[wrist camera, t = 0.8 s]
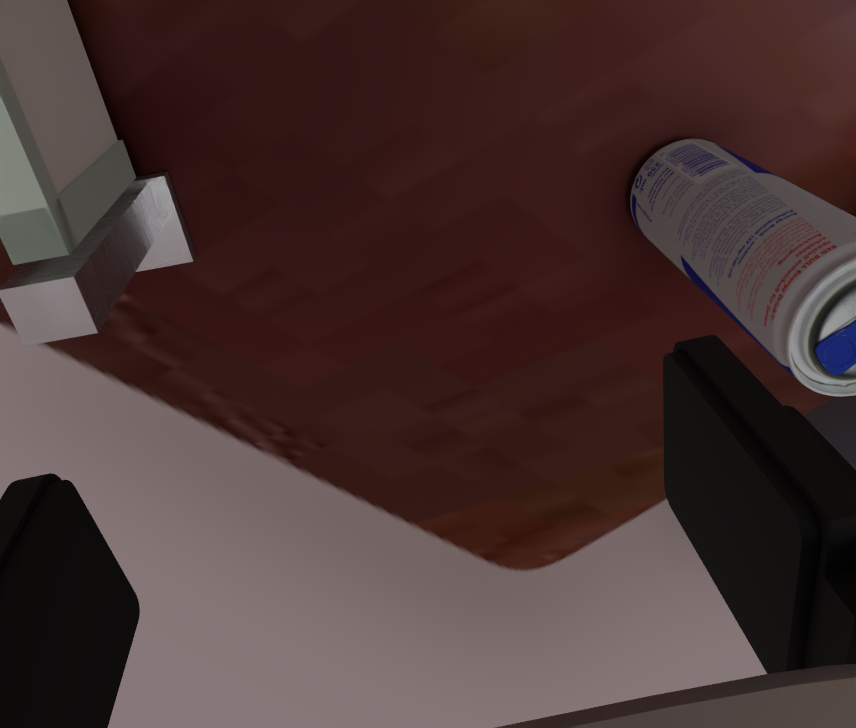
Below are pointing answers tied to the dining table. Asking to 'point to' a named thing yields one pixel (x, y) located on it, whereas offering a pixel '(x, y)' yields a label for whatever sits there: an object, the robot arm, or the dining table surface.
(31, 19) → the bar
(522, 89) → the dining table surface
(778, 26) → the dining table surface
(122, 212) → the gate posts
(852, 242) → the beverage can
